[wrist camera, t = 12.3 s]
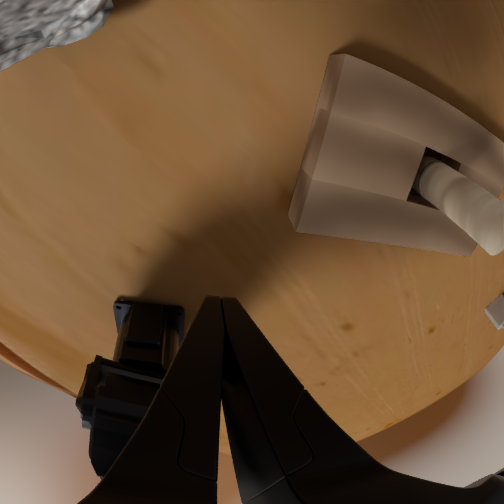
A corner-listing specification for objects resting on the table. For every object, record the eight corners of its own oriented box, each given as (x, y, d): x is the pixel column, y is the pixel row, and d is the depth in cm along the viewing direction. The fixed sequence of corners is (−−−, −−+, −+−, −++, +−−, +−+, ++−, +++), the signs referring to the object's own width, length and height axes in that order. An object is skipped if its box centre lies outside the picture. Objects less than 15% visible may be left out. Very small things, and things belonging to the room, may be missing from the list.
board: (457, 243, 26) (470, 256, 24) (287, 214, 22) (296, 232, 20) (497, 143, 20) (515, 152, 18) (329, 55, 15) (345, 53, 13)
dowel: (423, 191, 22) (501, 257, 14) (396, 183, 21) (478, 253, 13) (436, 157, 20) (523, 214, 12) (409, 145, 19) (502, 203, 11)
